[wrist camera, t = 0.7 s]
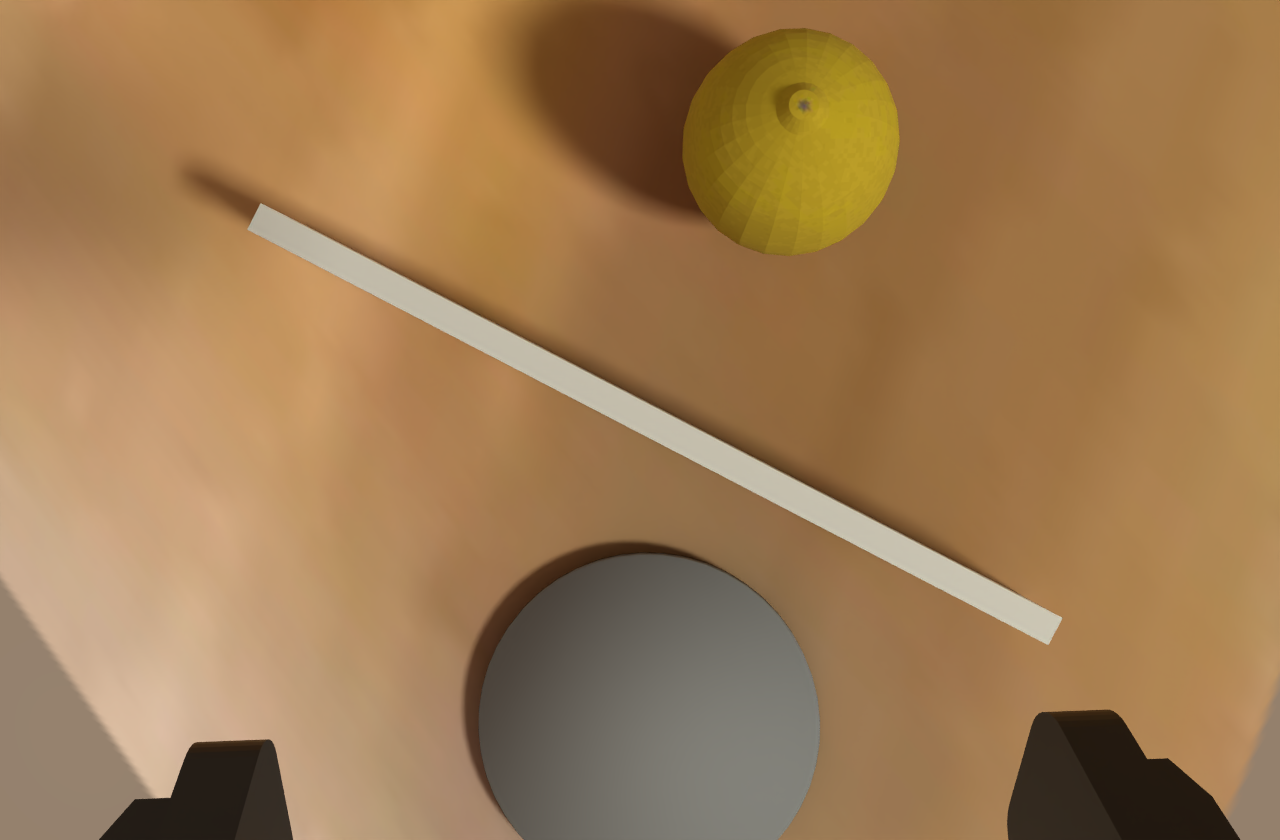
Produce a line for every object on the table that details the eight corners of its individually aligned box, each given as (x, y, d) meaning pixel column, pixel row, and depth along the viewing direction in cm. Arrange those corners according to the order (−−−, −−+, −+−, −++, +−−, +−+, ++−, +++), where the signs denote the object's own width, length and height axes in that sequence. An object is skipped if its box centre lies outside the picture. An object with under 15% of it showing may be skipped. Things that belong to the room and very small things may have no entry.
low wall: (305, 225, 33) (260, 202, 30) (1022, 596, 33) (1062, 617, 29) (293, 248, 34) (247, 229, 30) (1009, 620, 33) (1048, 645, 29)
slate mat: (576, 494, 33) (574, 495, 33) (876, 650, 33) (880, 654, 32) (424, 788, 33) (419, 795, 33) (720, 947, 33) (721, 957, 32)
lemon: (649, 213, 33) (635, 148, 25) (745, 51, 33) (762, -65, 25) (809, 307, 33) (847, 273, 25) (907, 145, 33) (976, 58, 25)
